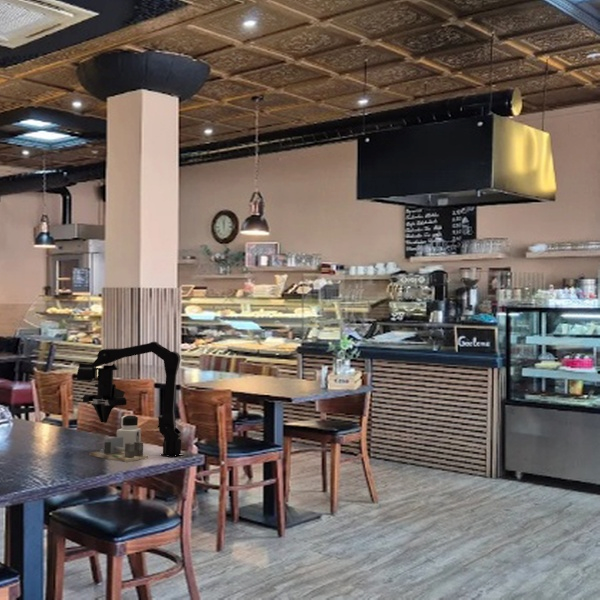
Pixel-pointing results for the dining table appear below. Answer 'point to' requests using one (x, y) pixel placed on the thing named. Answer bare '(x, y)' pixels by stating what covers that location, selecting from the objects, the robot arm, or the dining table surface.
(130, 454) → the gauge board
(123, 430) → the container
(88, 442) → the dining table surface
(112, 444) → the grey rectangular block
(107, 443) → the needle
